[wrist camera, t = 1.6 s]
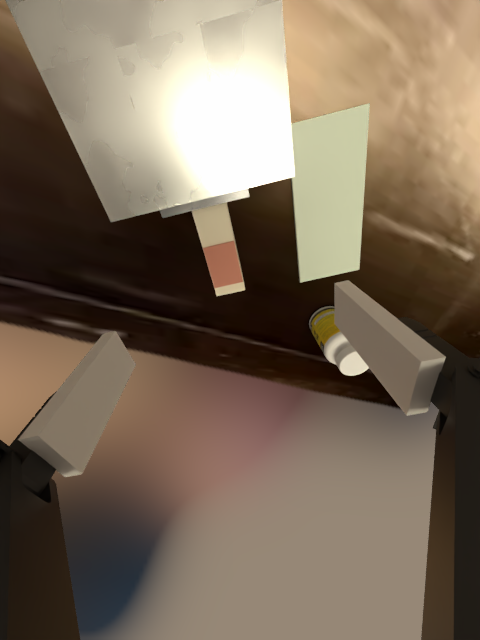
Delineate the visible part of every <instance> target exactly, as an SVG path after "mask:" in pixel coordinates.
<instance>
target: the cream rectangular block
mask: <svg viewBox="0 0 480 640" xmlns="http://www.w3.org/2000/svg"><path fill="white" fill-rule="evenodd" d="M192 214H193V217H194V221H195V224H196V228H197V231H198V234H199V238H200V241H201V244H202V248H203V251H204V255H205V258H206V261H207V265H208V268H209V272H210V275H211V278H212V282H213V285H214V288H215V292H216V295H217V296H220V295H225V294H229V293H234V292H239V291H243V290H245V286H244V281H243V275H242V270H241V265H240V261H239V256H238V251H237V247H236V242H235V238H234V233H233V229H232V224H231V219H230V215H229V210H228V206H227V202H226V203H222V204H218V205H214V206H210V207H206V208H201V209H197V210H193V211H192Z"/></svg>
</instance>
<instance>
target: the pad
mask: <svg viewBox="0 0 480 640" xmlns="http://www.w3.org/2000/svg"><path fill="white" fill-rule="evenodd" d="M369 108H370V103H369V104H365V105H361V106H357V107H353V108H349V109H346V110H342V111H338V112H334V113H330V114H327V115H323V116H319V117H315V118H311V119H308V120H304V121H300V122H296V123H292V124H291V129H292V143H293V156H294V170H295V177H291V185H292V197H293V209H294V221H295V234H296V246H297V258H298V270H299V281H300V283H301V282H305V281H310V280H314V279H319V278H323V277H328V276H332V275H337V274H341V273H346V272H350V271H355V270H359V265H360V249H361V233H362V218H363V202H364V186H365V171H366V155H367V139H368V124H369Z"/></svg>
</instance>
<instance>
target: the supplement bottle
mask: <svg viewBox="0 0 480 640" xmlns="http://www.w3.org/2000/svg"><path fill="white" fill-rule="evenodd" d="M309 327H310V330H311V332H312V334H313V335H314V337H315V339H316V341H317V342H318V344H319V346H320V348H321V349H322V351H323V353H324V355H325V356H326V358H327V359H328V360H329V361H330V362H331V363H333V364H336V365H337V366H338V368H339V369H340V371H341V372H342V373H343V374H345V375H349V376H353V375H358V374H361V373H363V372H364V371H366V370H367V369H368V368H369V367H368V366H367V364H366V363H365V362H364V361H363V359H362V358H361V357H360V355H359V354H358V353H357V352H356V350H355V349H354V348H353V347H352V345H351V344H350V343H349V341H348V340H347V339H346V338H345V336H344V335H343V334H342V332H341V331H340V330H339V329H338V327H337V326H336V325H335V307H333V306H326V307H323V308H320V309H319V310H317V311H316V312H315V313H314V314H313V315H312V316H311V318H310V321H309Z"/></svg>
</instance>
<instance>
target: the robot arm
mask: <svg viewBox="0 0 480 640" xmlns="http://www.w3.org/2000/svg"><path fill="white" fill-rule="evenodd" d="M335 325H336V326H337V327H338V329H339V330H340V331H341V332H342V334H343V335H344V336H345V338H346V339H347V340H348V341H349V343H350V344H351V345H352V347H353V348H354V349H355V350H356V352H357V353H358V354H359V355H360V357H361V358H362V359H363V361H364V362H365V363H366V364H367V366H368V367H369V368H370V370H371V371H372V372H373V373H374V375H375V376H376V377H377V378H378V380H379V381H380V382H381V384H382V385H383V386H384V387H385V389H386V390H387V391H388V393H389V394H390V395H391V396H392V398H393V399H394V400H395V401H396V403H397V404H398V405H399V407H400V408H401V409H402V410H403V412H404V413H405V414H406V415H414V414H419V413H424V412H427V411H428V409H429V406H430V403H431V402H432V403H433V404H434V405H435V406H436V407H437V408H438V409H439V413H438V415H437V418H436V421H435V423H434V426H433V428H434V429H436V443H435V456H434V471H433V485H432V498H431V512H430V526H429V540H428V554H427V568H426V582H425V595H424V597H425V598H424V610H423V624H422V637H421V640H480V359H477V358H468V357H467V356H465V355H464V354H463V353H461V352H460V351H458V350H457V349H456V348H454V347H453V346H452V345H450V344H449V343H447V342H446V341H445V340H443V339H442V338H440V337H439V336H436V334H435V333H433V332H432V331H431V330H428V328H426V327H425V326H424V325H422V324H421V323H419V322H417V321H415V320H412V319H410V318H407V317H403V318H398V319H397V318H396V317H394V316H393V315H392V314H390V313H389V312H388V311H387V310H385V309H384V308H383V307H382V306H380V305H379V304H378V303H376V302H375V301H374V300H373V299H371V298H370V297H369V296H368V295H366V294H365V293H364V292H362V291H361V290H360V289H359V288H357V287H356V286H355V285H354V284H352V283H351V282H350V281H348V280H347V281H343V282H338V283H335ZM135 365H136V364H135V362H134V361H133V359H132V357H131V356H130V354H129V353H128V351H127V349H126V347H125V346H124V344H123V343H122V341H121V339H120V338H119V336H118V334H117V333H116V331H113V332H108V333H104V334H103V335H102V336H101V337H100V339H99V340H98V341H97V342H96V343H95V345H94V346H93V347H92V348H91V350H90V351H89V352H88V354H87V355H86V356H85V357H84V358H83V360H82V361H81V362H80V363H79V365H78V366H77V367H76V368H75V369H74V371H73V372H72V373H71V374H70V376H69V377H68V378H67V379H66V381H65V382H64V383H63V384H62V386H61V387H60V388H59V389H58V391H56V392H55V393H54V394H53V395H52V396H51V397H49V399H48V400H47V401H46V402H45V403H44V405H43V406H42V409H40V410H39V411H38V412H37V413H36V414H35V417H33V418H32V419H31V420H30V422H29V423H28V424H27V425H26V427H25V428H24V429H23V430H22V431H21V433H20V434H19V435H18V436H17V438H16V439H15V440H14V441H13V443H12V444H11V445H10V446H8V445H7V444H5V443H4V442H3V441H1V440H0V640H80V635H79V629H78V623H77V616H76V609H75V603H74V597H73V590H72V584H71V577H70V571H69V565H68V558H67V552H66V545H65V539H64V533H63V526H62V519H61V513H60V507H59V501H58V494H57V487H56V483H55V481H54V480H53V479H51V477H52V476H53V474H54V472H55V470H57V471H58V472H59V473H60V474H62V475H63V476H64V477H68V476H74V475H80V474H82V473H83V471H84V469H85V467H86V465H87V463H88V461H89V459H90V457H91V455H92V453H93V451H94V449H95V447H96V445H97V443H98V441H99V439H100V437H101V435H102V433H103V431H104V429H105V427H106V425H107V422H108V420H109V418H110V416H111V414H112V412H113V410H114V408H115V406H116V404H117V402H118V400H119V398H120V396H121V394H122V392H123V390H124V388H125V386H126V384H127V382H128V380H129V377H130V376H131V374H132V371H133V369H134V367H135Z"/></svg>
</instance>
